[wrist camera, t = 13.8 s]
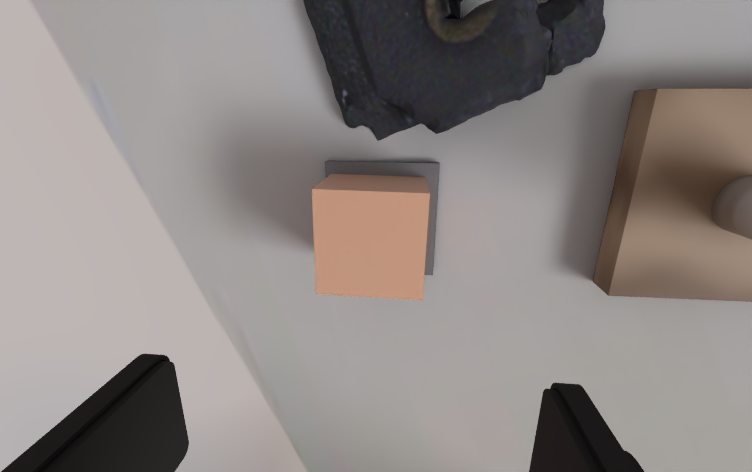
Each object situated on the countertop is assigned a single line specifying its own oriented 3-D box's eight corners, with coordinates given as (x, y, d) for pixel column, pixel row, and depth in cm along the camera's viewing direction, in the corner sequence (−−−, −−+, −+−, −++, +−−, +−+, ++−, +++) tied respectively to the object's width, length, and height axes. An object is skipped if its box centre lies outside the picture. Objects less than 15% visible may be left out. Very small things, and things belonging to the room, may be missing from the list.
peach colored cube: (425, 177, 23) (430, 193, 18) (419, 264, 25) (422, 300, 20) (331, 173, 23) (311, 189, 18) (332, 260, 25) (315, 294, 20)
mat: (432, 272, 25) (432, 275, 25) (330, 268, 26) (329, 271, 25) (439, 162, 23) (439, 163, 22) (326, 161, 23) (325, 161, 23)
